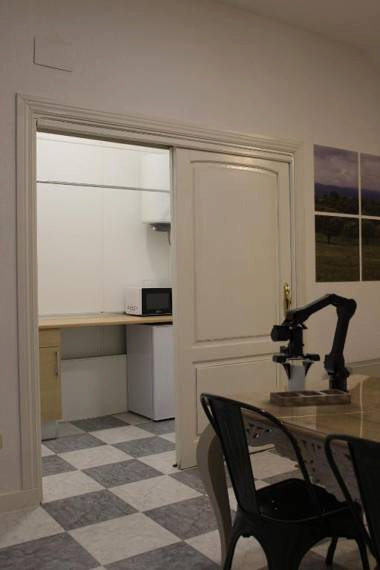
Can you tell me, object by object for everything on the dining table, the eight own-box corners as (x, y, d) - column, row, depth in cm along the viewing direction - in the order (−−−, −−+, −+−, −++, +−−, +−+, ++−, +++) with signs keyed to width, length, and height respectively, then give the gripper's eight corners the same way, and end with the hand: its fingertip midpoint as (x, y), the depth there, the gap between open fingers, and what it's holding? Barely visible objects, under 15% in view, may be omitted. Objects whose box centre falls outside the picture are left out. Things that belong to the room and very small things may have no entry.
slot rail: (336, 396, 232) (336, 388, 232) (351, 402, 220) (350, 394, 220) (270, 400, 226) (269, 392, 226) (281, 406, 214) (281, 398, 214)
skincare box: (306, 395, 235) (305, 365, 235) (299, 397, 232) (298, 366, 232) (294, 393, 240) (294, 364, 240) (287, 394, 237) (286, 365, 237)
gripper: (309, 338, 246) (309, 375, 246) (267, 339, 242) (267, 377, 242) (320, 340, 235) (321, 379, 235) (277, 342, 231) (277, 381, 231)
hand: (296, 379), depth 236 cm, fingers open, 6 cm apart
